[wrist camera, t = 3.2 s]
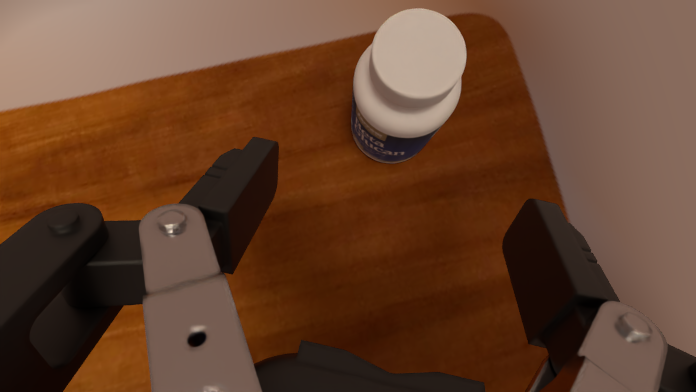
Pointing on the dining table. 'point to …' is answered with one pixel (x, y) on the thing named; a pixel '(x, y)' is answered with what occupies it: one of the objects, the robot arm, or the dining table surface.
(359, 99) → the pill bottle
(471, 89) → the dining table surface
